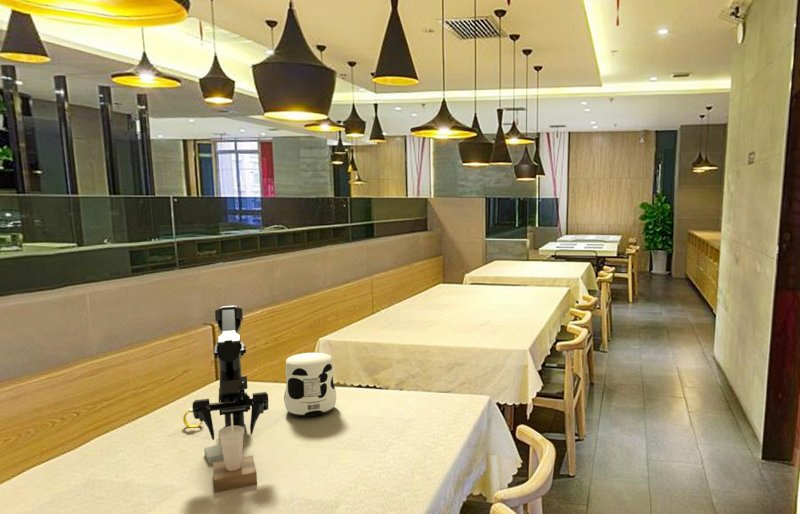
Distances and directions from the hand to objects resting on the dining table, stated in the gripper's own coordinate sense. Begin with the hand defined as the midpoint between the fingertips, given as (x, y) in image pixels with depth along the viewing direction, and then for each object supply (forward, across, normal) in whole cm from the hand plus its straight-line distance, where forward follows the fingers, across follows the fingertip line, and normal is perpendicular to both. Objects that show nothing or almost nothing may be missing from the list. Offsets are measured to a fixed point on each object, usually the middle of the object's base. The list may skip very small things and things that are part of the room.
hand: (232, 436), depth 138 cm
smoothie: (+6, 0, +6) cm, 8 cm away
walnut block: (+8, 0, +7) cm, 11 cm away
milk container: (-20, +24, +37) cm, 48 cm away
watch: (-20, -13, +36) cm, 43 cm away
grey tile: (-2, -4, +18) cm, 18 cm away
